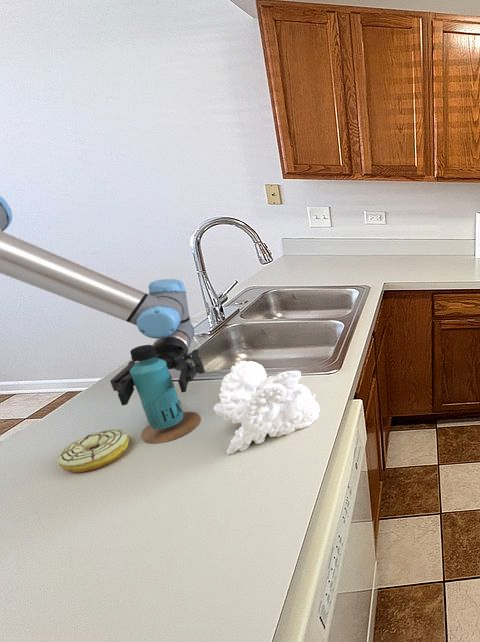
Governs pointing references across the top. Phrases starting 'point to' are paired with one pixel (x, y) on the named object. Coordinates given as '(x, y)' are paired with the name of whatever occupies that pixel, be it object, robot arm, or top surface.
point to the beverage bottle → (155, 388)
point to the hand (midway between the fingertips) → (152, 393)
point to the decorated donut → (93, 451)
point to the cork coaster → (172, 429)
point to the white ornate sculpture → (264, 404)
